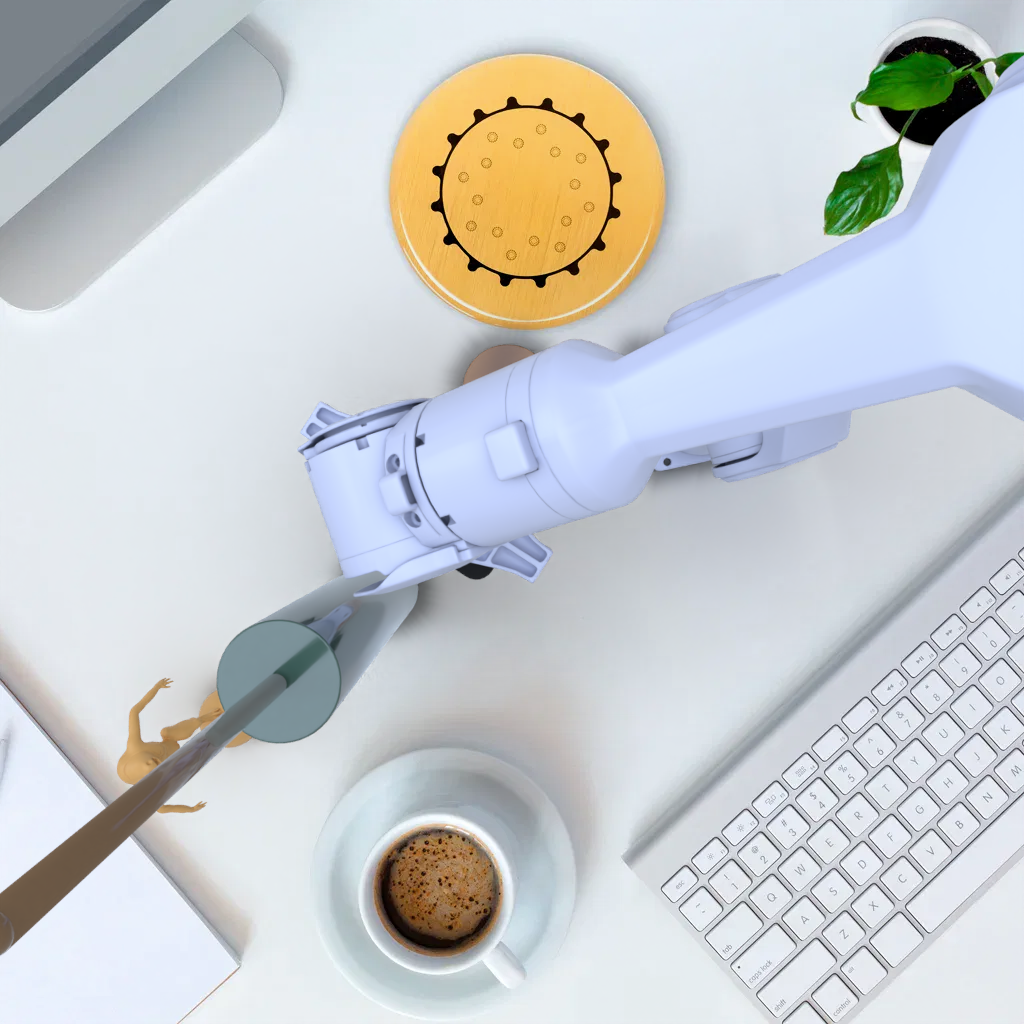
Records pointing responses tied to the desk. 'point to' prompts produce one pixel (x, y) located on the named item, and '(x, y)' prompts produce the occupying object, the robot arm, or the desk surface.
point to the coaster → (495, 360)
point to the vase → (233, 722)
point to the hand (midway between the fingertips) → (439, 491)
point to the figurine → (166, 742)
